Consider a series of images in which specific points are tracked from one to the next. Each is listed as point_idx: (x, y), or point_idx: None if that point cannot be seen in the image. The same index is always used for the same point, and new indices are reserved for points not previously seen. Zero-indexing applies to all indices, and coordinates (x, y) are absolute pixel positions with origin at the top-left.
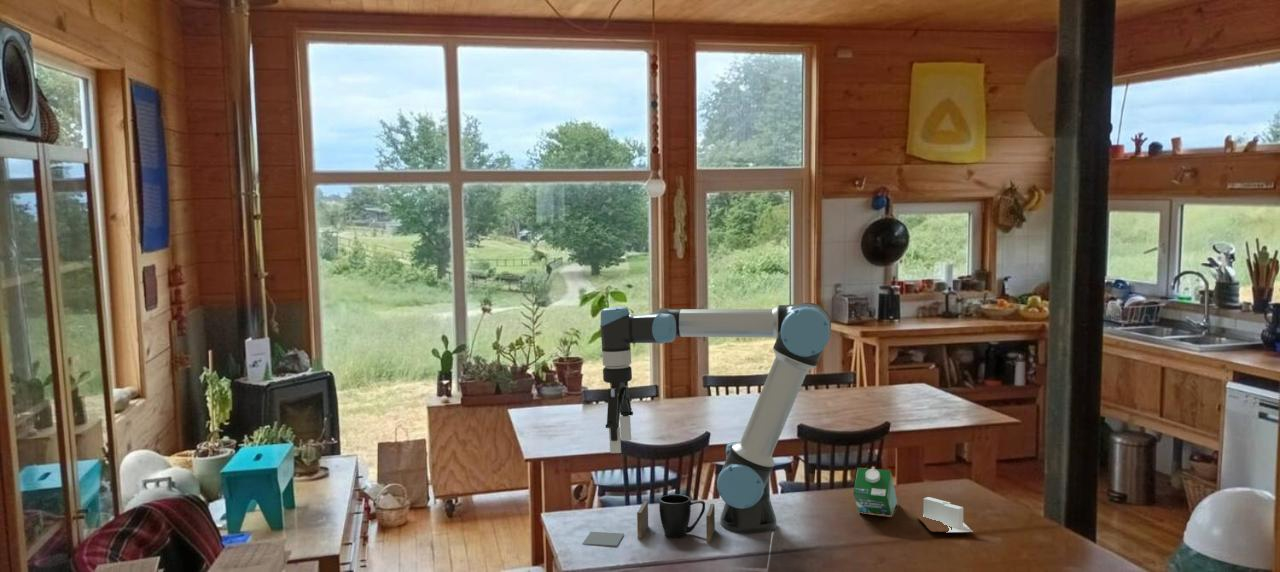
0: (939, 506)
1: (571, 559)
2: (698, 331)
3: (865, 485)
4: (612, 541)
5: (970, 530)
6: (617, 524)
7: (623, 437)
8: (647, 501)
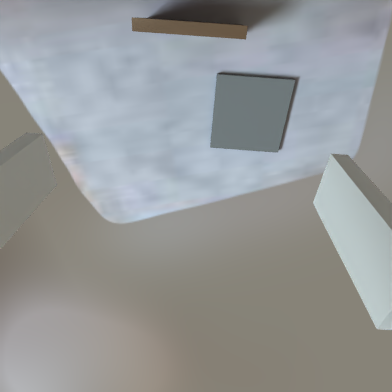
0: None
1: None
2: None
3: None
4: (270, 93)
5: None
6: (145, 100)
7: (44, 180)
8: (136, 18)
